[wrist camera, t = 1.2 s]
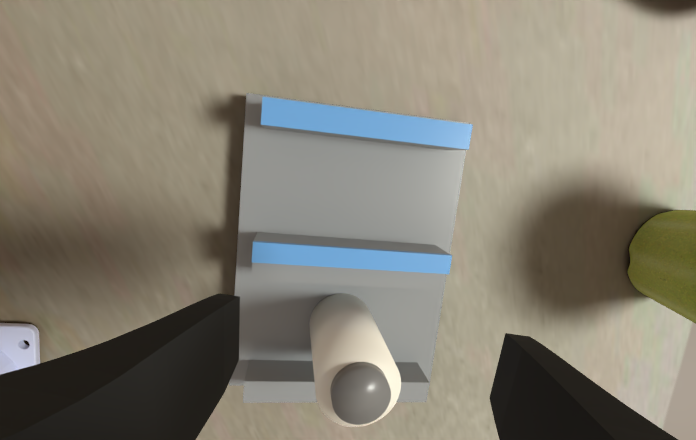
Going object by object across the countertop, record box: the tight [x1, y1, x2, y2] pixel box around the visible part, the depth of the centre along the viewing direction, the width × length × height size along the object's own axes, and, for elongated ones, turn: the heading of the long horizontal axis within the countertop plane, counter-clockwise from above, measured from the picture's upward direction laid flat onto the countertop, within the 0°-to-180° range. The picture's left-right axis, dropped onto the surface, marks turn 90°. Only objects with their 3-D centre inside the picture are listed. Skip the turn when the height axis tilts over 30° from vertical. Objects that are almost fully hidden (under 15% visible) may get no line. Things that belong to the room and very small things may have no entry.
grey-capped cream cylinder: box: [309, 293, 401, 427], centre depth 18 cm, size 4×4×7 cm
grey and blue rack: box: [229, 93, 473, 403], centre depth 19 cm, size 16×12×3 cm
